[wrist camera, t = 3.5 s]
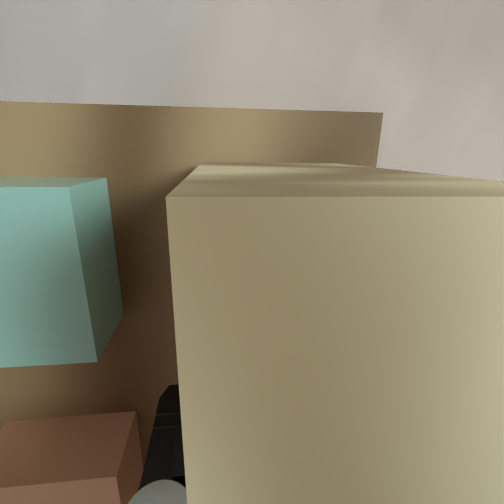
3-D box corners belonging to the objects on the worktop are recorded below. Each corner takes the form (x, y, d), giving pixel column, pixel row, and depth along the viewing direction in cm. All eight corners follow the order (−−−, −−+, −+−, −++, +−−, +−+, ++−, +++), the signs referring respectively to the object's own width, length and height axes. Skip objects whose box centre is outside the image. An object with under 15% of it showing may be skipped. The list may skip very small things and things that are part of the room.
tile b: (135, 411, 12) (116, 476, 9) (146, 495, 13) (131, 571, 11) (6, 420, 11) (-48, 492, 9) (32, 508, 13) (-10, 590, 10)
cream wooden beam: (337, 163, 9) (634, 195, 3) (306, 495, 14) (390, 820, 7) (202, 161, 9) (166, 196, 2) (213, 505, 13) (212, 861, 7)
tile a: (106, 177, 9) (68, 186, 7) (123, 314, 11) (97, 361, 8) (-65, 176, 9) (-169, 186, 6) (-23, 320, 10) (-96, 373, 8)
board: (349, 120, 12) (383, 112, 9) (315, 456, 17) (331, 505, 15) (-112, 108, 10) (-211, 95, 8) (8, 486, 15) (-30, 548, 13)
